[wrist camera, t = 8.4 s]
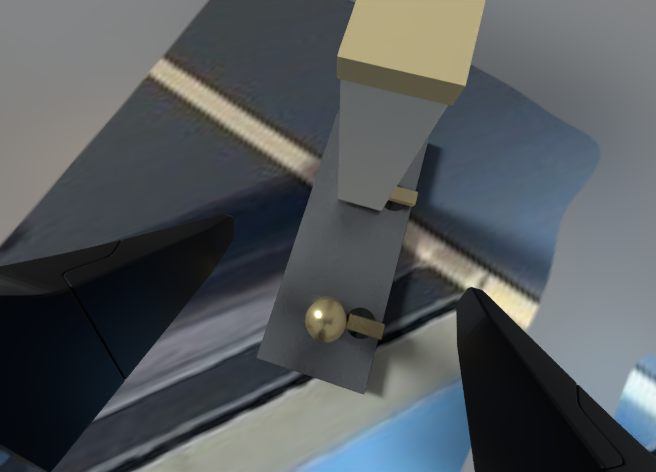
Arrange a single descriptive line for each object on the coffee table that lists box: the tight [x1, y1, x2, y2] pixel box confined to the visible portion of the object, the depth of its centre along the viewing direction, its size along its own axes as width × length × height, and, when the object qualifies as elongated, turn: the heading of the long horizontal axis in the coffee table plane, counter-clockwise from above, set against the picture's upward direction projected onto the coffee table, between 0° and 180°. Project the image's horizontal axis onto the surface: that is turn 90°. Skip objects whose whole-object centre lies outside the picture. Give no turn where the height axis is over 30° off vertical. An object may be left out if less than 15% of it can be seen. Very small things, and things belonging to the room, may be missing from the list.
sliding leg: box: [337, 0, 485, 211], centre depth 14 cm, size 3×6×13 cm, turn 73°
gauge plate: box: [257, 109, 430, 394], centre depth 18 cm, size 21×8×6 cm, turn 163°
